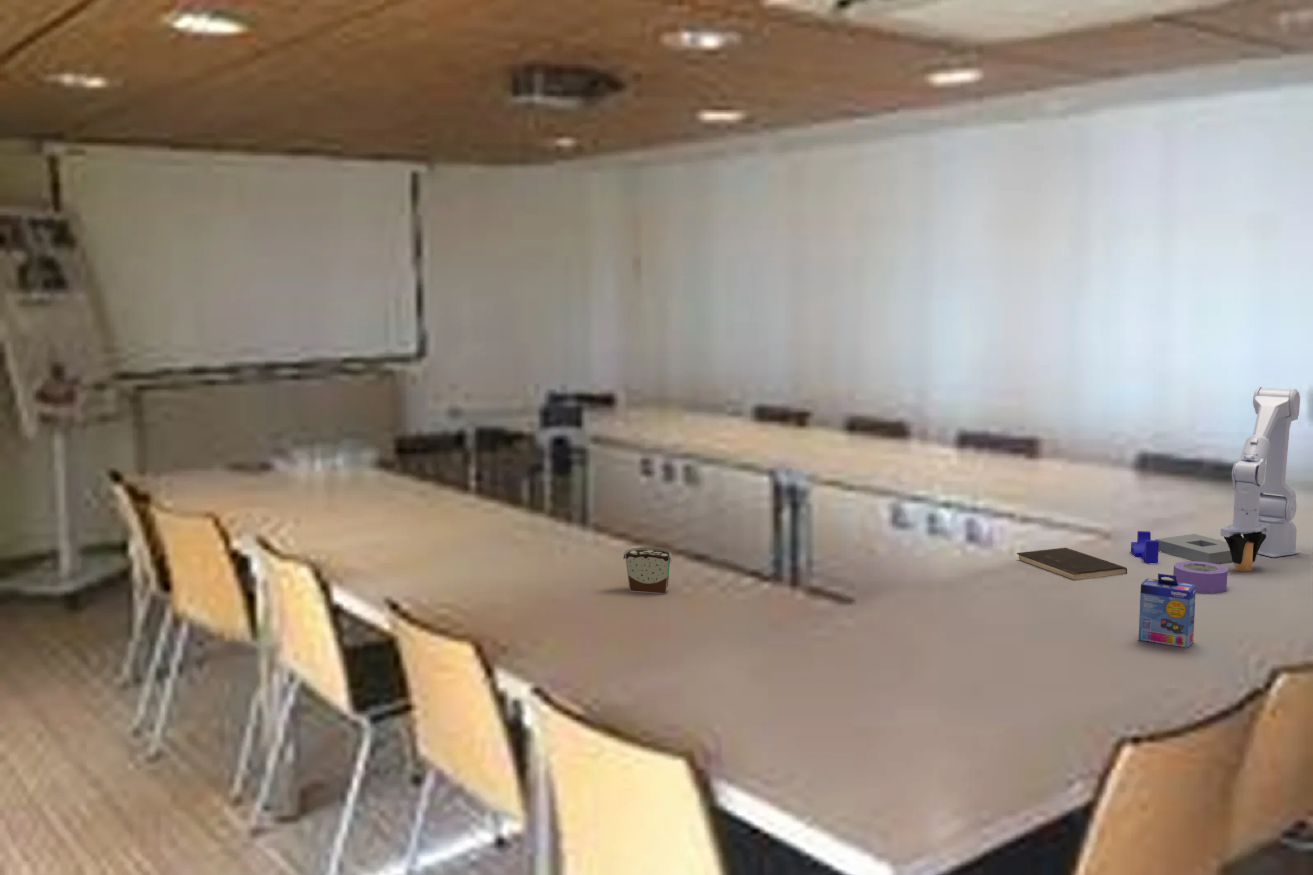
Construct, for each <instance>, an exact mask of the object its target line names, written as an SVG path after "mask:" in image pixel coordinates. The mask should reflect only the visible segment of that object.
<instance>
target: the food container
mask: <svg viewBox="0 0 1313 875" xmlns="http://www.w3.org/2000/svg"><path fill="white" fill-rule="evenodd" d="M623 560H625V564H626V565H625V566H626V573H627V581H628V582H627V583H628V589H629V590H628V591H629V592H630V593H631V592H632V593H644V594H645V593H646V594H656V595H657V594H658V595H667V594H668V590H669V587H668V586H669V579H670V576H669V575H670V564H671V563H673V561H674V560H673V554H672V553H671V550H670V549H667V548H663V547H659V546H658V547H657V546H640V547H639V546H638V547H632V548H629V549H626V550H624V553H623Z"/></svg>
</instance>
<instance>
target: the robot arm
mask: <svg viewBox="0 0 1313 875" xmlns="http://www.w3.org/2000/svg"><path fill="white" fill-rule="evenodd" d="M1300 404H1301V396H1300V392H1299V391H1298V389H1297V388H1292V389H1291V388H1278V387H1277V388H1275V387H1274V388H1272V387H1262V386H1258V387H1257V388H1256V389H1255V390H1254V393H1253V397H1252V405H1253V409H1254V411H1255V414H1256V421H1255V424H1254V428H1253V434H1252V435H1251V436H1249V437H1247V438H1246V439H1245V443H1244V444H1243V445H1244V446H1243V449H1242V452H1241V455H1240V457H1239V460H1238V461H1236V462H1234V464H1233V466H1232V470H1231V480H1232V490H1233V491H1234V498H1233V499H1234V500H1233V517H1232V518H1233V519H1232V524H1231V525H1228V526H1225V527H1220V537H1223V538H1224V540H1225V542H1227V544H1228V546H1229V549H1230V552H1231V556H1232V561H1233V562H1232V563H1234V564H1235V563H1237V564H1241V563H1242V558H1243V550H1244V547H1245V544H1246V542H1247V541H1251V542H1253V562H1252V563H1254V562H1255V561H1256V558H1257V555H1260V556H1261V555H1262V556H1266V557H1270V558H1277V557H1285V556H1291V555H1297V554H1299V551H1297V549H1296V547H1297V546H1296V544H1297V526H1296V523H1295V522H1294V521H1293V519H1294V518H1295V516H1296V514H1297V494H1296V491H1295V490H1294V489H1293V488H1291V486H1289V485H1288V484H1286V474H1287V465H1288V464H1287V463H1288V454H1289V453H1288V451H1289V442H1290V441H1289V440H1290V428H1291V424H1292V422H1294V421H1297V420H1298V419H1299V414H1300V408H1301V407H1300V406H1301V405H1300Z"/></svg>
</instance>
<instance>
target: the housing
mask: <svg viewBox="0 0 1313 875" xmlns="http://www.w3.org/2000/svg"><path fill="white" fill-rule="evenodd" d="M1154 540H1158V541H1159V551H1158V552H1160V551H1161V553H1164V554H1167V555H1171V554H1172V555H1171V556H1174V555H1175V557H1178V558H1182V559H1186V560H1188V561H1198V562H1207V563H1213V564H1217V565H1220V564H1225V563H1233V561H1232V556H1231V552H1230V549H1229V546H1228V544H1227V542H1226V540H1225V541H1224V540H1220V539H1216V538H1213V537H1208V536H1205V535H1204V536H1203V535H1200V534H1197V533H1192V534H1191V533H1190V534H1183V535H1178V536H1170V537H1164V538H1162V537H1161V538H1157V539H1156V538H1155V539H1154Z"/></svg>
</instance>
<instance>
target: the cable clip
mask: <svg viewBox="0 0 1313 875" xmlns="http://www.w3.org/2000/svg"><path fill="white" fill-rule="evenodd" d="M1136 534H1137V535H1136V536H1137V537H1136V538H1137V539H1136V540H1137V541H1130V553H1131V554H1132V556H1133V555H1134V556H1135V557H1141V558H1140V559H1143V560H1144V561H1143V560H1142V561H1143V562H1144V563H1145V564H1150V563H1158V564H1159V552H1160V551H1159V541H1158V540H1155V539H1153V540H1152V539H1151V532H1150V531H1149V530H1148V531H1145V530H1137V533H1136ZM1134 556H1133V557H1134ZM1135 557H1134V558H1135Z"/></svg>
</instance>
